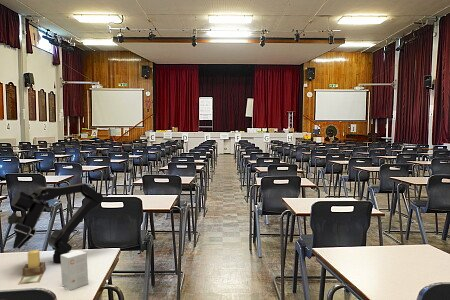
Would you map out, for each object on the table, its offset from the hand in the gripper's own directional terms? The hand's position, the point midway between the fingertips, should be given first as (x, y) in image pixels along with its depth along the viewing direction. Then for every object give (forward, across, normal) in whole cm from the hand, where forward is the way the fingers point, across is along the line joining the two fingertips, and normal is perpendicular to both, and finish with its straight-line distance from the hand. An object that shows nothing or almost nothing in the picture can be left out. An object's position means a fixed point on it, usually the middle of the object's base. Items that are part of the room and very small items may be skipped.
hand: (16, 248), depth 175 cm
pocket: (+8, -2, +11) cm, 14 cm away
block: (+7, -2, +11) cm, 13 cm away
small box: (+5, +16, +29) cm, 34 cm away
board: (+9, +2, +12) cm, 15 cm away
